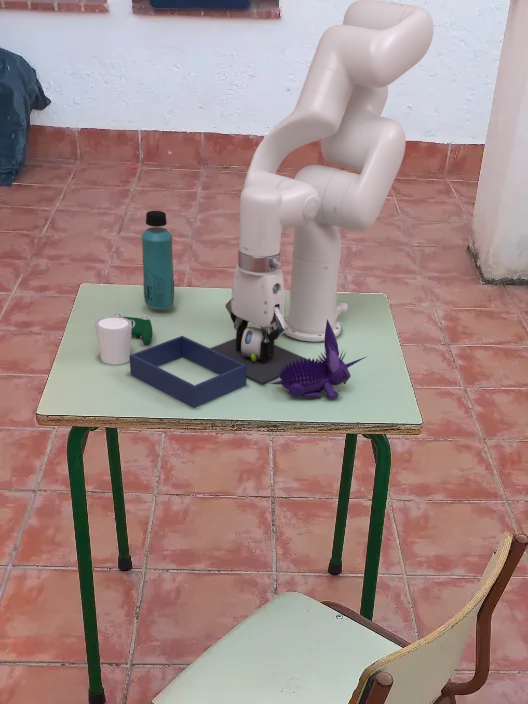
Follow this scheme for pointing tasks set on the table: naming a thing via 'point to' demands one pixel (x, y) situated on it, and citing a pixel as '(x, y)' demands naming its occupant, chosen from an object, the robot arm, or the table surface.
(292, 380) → the creature
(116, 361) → the white cup
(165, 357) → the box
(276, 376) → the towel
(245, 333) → the roller toy
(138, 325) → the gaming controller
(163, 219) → the beverage bottle
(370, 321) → the table surface
